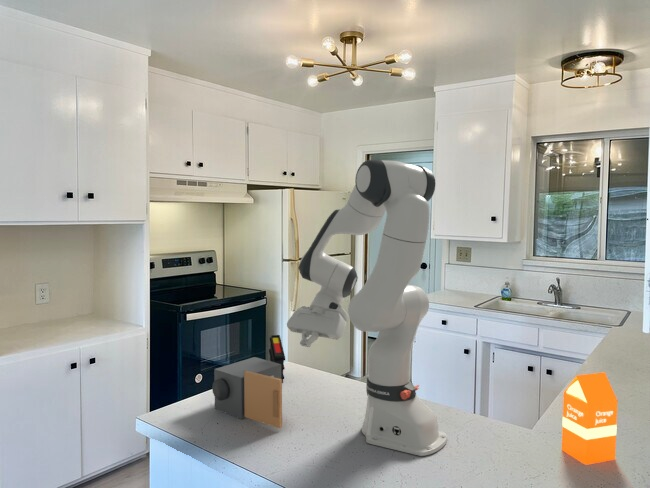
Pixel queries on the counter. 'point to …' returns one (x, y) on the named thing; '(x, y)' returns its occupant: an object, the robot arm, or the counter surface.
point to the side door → (263, 398)
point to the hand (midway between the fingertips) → (304, 345)
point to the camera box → (238, 383)
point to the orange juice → (590, 419)
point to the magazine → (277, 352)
